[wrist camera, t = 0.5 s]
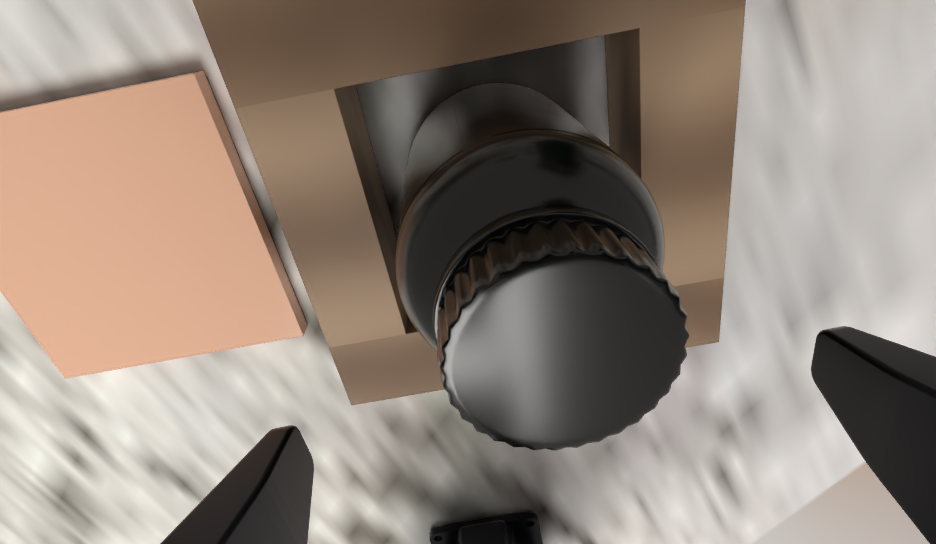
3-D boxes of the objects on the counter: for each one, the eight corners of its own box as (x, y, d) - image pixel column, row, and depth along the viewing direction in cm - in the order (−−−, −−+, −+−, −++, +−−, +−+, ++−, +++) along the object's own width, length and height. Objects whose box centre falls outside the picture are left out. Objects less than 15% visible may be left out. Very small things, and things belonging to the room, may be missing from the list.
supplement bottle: (509, 275, 22) (572, 527, 12) (375, 190, 20) (306, 406, 10) (618, 149, 20) (820, 325, 9) (478, 36, 18) (537, 100, 7)
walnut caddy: (681, 295, 23) (718, 341, 20) (362, 352, 24) (351, 405, 21) (694, -102, 16) (755, -124, 13) (235, -6, 17) (190, -5, 14)
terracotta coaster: (307, 325, 23) (303, 335, 22) (76, 367, 23) (64, 378, 23) (203, 70, 18) (193, 73, 17) (-93, 130, 18) (-115, 135, 17)
